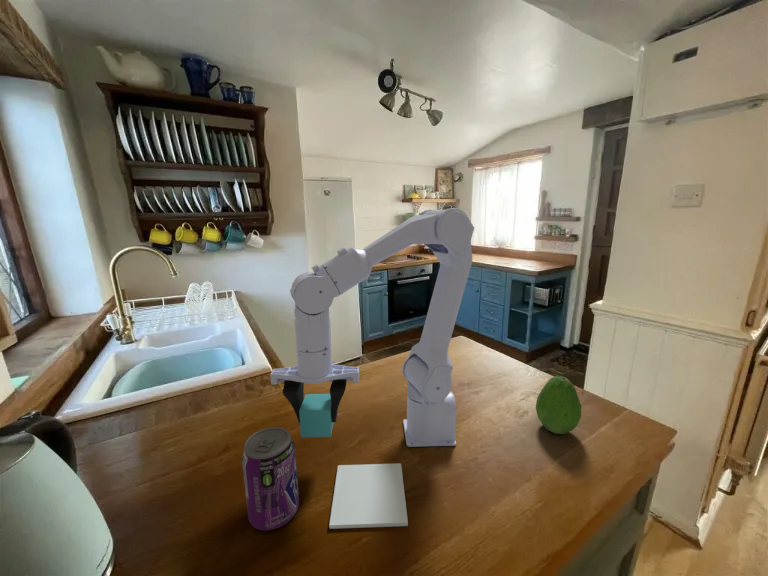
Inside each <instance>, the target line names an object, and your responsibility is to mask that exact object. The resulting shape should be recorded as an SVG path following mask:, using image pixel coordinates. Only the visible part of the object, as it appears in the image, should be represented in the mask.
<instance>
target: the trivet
mask: <svg viewBox="0 0 768 576" xmlns="http://www.w3.org/2000/svg"><path fill="white" fill-rule="evenodd" d="M336 470H337V471H336V476H335V483H334V488H333V489H334V490H333V492H334V493H333V498H332V503H331V510H330V518H329V525H328V527H329V529H335V530H336V529H357V528H359V529H360V528H362V529H363V528H365V529H366V528H385V527H386V528H387V527H388V528H389V527H390V528H393V527H408V526H409V522H408V521H409V520H408V519H409V518H408V512H407V511H408V510H407V503H406V495H405V485H404V478H403V477H404V476H403V469H402V463H371V464H367V463H366V464H339V465H337V469H336Z"/></svg>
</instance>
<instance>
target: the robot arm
mask: <svg viewBox="0 0 768 576" xmlns="http://www.w3.org/2000/svg"><path fill="white" fill-rule="evenodd" d="M474 232H475V226H474V225H473V223H472V221H471V220H470V218H469V217H468V215H467V214H466V212H465V211H464V210H462V209H460V208H456V207H453V208H452V207H451V208H447V209H438V210H437V209H436V210H432V209H428V210H427V209H426V210H424V211H422V212H420V213H418V214H416V215H413V216H412V217H409V218H407V220H405V221H403V222H401V223H400V224H398V225H397V226H396V227H394V228H392V229H391V230H390V231H388V232H387V233H385V234H383V235H382V236H381V237H379V238H378V239H376V240H374V241H372V242H371V243H370V244H368V245H366V246H365V247H364V248H362V249H360V248H356V247H353V246H352V247H349V248H346V247H342V248H340V249H338V250H337V251H336V252H337V255H336V256H334V257H333V258H331V259H329V260H328V261H325V262H324V263H323V264H320V265H319V264H315V265H313V266H312V267H311V269H312V271H313V272H303V273H300V274H299V275H297V276H296V278H294V280H293V282H292V283H291V288H290V296H291V298H292V299H293V300H294V303H295V304H294V310H293V311H294V312H293V313H294V317H295V319H294V322H293V323H294V333H295V334H294V337H295V347H296V348H295V349H296V363H297V365H294V366H287V367H281V368H273V369H272V371H271V373H270V374H269V375H270V376H269V377H270V385H273V386H274V385H279V383H283V389H282V390H281V391H282V395H283V396H284V397H285V399H286V400H287V401H288V402H289V404H290V405H291V407H292V409H293V411H294V412H295V416H296V418H297V421H298V424H300V414H299V410H300V408H301V405H302V402H303V400H304V397H305V396H304V395H305V391H304V388H305V387H304V385H305V384H312V385H314V384H320V383H325V382H331V385H330V389H329V394H330V396H331V405H332V412H331V419H332V422H334V423H336V422H337V418H338V409H339V406H340V404H341V400H342V398H343V396H344V394H345V392H346V389H347V382H352V383H354V384H355V383H359V382H360V367H359V366H348V365H341V364H334V363H333V347H332V345H333V344H332V328H331V327H332V326H331V325H332V323H331V318H330V308H331V306H332V304H333V301H334V298H337V297H339V296H340V295H343V294H345V293H346V292H347V291H349V290H350V289H353V288H354V287H355V286H357V285H359V284H360V283H362V282H364V281H365V280H367V279H368V278H370V277H371V273H372V269H373V268H374V266H375V265H377V264H379V263H381V262H383V261H384V260H387V259H388V258H390V257H391V256H394V255H396V254H397V253H399V252H401V251H403V250H405V249H406V248H408V247H410V246H412V245H424V246H425V247H427V248H428V249H429V250H431V251H432V253H433V255H434V256H435V258H436V259H437V261H438V262H439V264H440V265H439V266H440V267H439V269H438V273H437V277H436V281H435V283H434V288H433V292H432V295H431V299H430V302H429V306H428V310H427V314H426V317H425V322H424V325H423V329H422V331H421V332H422V333H421V336H420V340H419V342H417V343H416V344H413V346H412V347H411V350H410V352H409V355H408V357H406V359H405V360H404V361H403V363H402V367H401V372H402V375H403V377H404V379H405V380H407V389H406V394H407V395H406V419H405V418H403V421H402V423H403V429H404V436H405V442H406V446H407V447H408V448H409V447H410V448H412V447H417V448H418V447H420V448H421V447H444V446H445V447H450V446H451V447H453V446H456V445H457V441H456V435H457V434H456V432H457V431H456V430H457V404H456V397H455V395H454V393H453V391H452V386H453V382H452V373H453V367H454V366H453V363H452V360H451V358H450V356H449V352H448V351H449V350H448V349H449V347H450V343H451V339H452V336H453V332H454V329H455V325H456V322H457V318H458V315H459V314H458V313H459V310H460V307H461V303H462V300H463V296H464V293H465V289H466V286H467V282H468V279H469V275H470V271H471V268H472V265H473V252H472V251H473V250H472V238H473V233H474Z"/></svg>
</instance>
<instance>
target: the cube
mask: <svg viewBox="0 0 768 576" xmlns="http://www.w3.org/2000/svg"><path fill="white" fill-rule="evenodd" d="M304 395H305V396H304V400H303V402H302V405H301V408H300V410H299V414H300V423H299V424H300V425H299V429H300V438H331V437H332V432H333V428H334V424H335V422H332V419H331V412H332V405H331V396H330V393H305V394H304Z"/></svg>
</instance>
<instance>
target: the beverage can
mask: <svg viewBox="0 0 768 576" xmlns="http://www.w3.org/2000/svg"><path fill="white" fill-rule="evenodd" d="M291 436H292V435H291V432H290V431H289V430H287V429H286V428H285V427H280V426H270V427H266V428H263V429H259V430H258V431H256V432H254V433H253V434H251V435H250V436H249V437H248V438H247V439H246V441H245V442H244V447H243V449H244V451H243V454H242V456H241V457H242V458H241V464H242V465H241V466H242V473H243V484H244V488H245V489H244V493H245V500H246V501H245V502H246V507H247V508H246V509H247V517H248V518H247V519H248V521H249V524H250V525H251V526H252V528H255V529H257V530H260V531H272V530H275V529H278V528H280V527H282V526H284V525H286V524H287V523H288V522H289V521H290V520H291V519H292V518H293V517H294V516H295V514H296V513H297V511H298V509H299V507H300V506H299V505H300V494H299V483H298V468H297V458H296V445H295V443H294V441H293V440H292V437H291Z"/></svg>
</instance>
